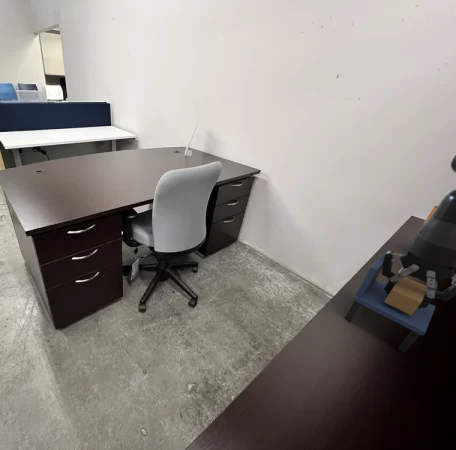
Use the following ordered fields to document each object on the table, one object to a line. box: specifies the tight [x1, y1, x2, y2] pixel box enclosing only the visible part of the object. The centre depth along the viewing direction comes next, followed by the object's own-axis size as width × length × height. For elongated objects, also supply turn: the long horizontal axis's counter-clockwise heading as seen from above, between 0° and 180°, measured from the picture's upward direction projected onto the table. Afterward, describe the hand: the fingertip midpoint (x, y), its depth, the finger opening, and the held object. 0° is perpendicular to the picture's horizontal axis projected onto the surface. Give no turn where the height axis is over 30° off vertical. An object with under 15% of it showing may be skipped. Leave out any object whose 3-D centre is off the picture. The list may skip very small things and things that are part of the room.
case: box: [384, 276, 427, 315], centre depth 58 cm, size 5×9×4 cm, turn 126°
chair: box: [344, 251, 437, 354], centre depth 59 cm, size 13×13×17 cm
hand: (402, 299), depth 58 cm, fingers closed on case, 5 cm apart
